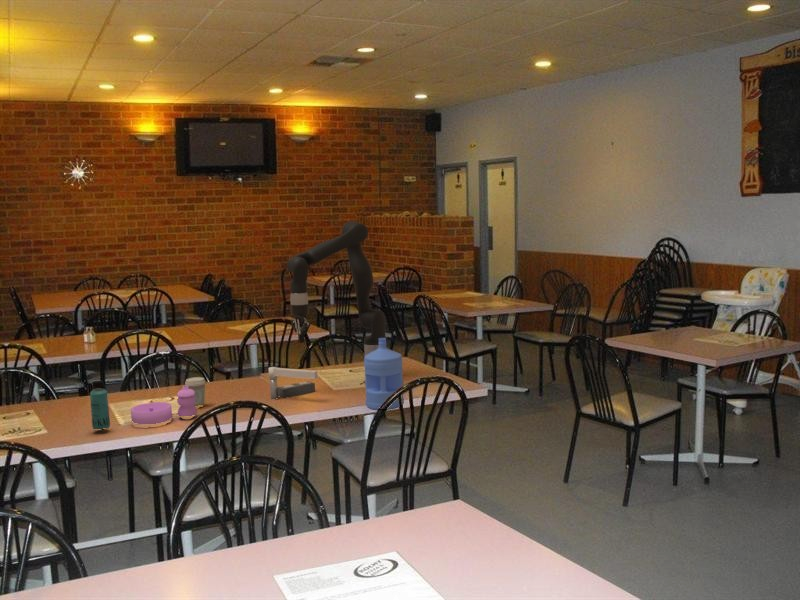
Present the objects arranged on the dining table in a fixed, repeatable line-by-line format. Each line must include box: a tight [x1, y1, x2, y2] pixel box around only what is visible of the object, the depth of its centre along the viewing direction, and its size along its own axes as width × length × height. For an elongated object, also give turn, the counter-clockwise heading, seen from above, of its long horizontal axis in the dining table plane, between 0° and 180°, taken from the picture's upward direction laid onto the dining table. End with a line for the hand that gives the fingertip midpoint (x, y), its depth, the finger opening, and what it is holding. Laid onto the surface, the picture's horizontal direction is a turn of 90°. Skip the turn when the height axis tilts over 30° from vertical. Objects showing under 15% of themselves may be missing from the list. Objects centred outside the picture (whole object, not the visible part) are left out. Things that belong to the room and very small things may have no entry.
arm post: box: [269, 377, 279, 400], centre depth 342 cm, size 3×3×9 cm
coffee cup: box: [184, 376, 207, 406], centre depth 333 cm, size 8×8×12 cm
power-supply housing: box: [277, 380, 316, 399], centre depth 349 cm, size 16×6×4 cm, turn 129°
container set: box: [130, 385, 198, 424], centre depth 313 cm, size 25×15×13 cm, turn 110°
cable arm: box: [268, 366, 319, 380], centre depth 336 cm, size 24×4×4 cm, turn 64°
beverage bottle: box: [89, 379, 111, 429], centre depth 301 cm, size 6×7×20 cm
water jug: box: [363, 337, 405, 411], centre depth 323 cm, size 16×16×28 cm
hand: (301, 342), depth 344 cm, fingers closed
